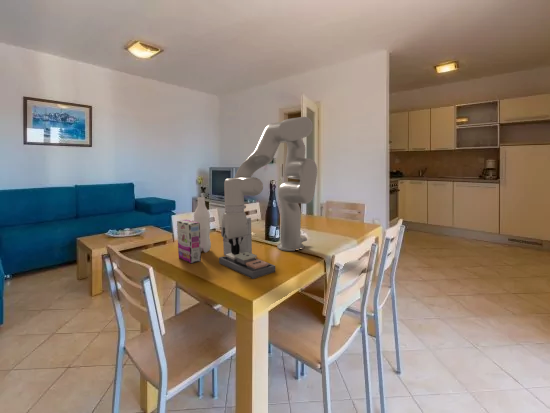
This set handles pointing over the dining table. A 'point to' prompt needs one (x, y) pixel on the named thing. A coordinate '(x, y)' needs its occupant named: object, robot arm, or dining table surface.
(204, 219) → the water bottle
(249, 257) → the tile
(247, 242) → the supplement box
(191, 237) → the candy bar box
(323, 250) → the dining table surface
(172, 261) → the dining table surface
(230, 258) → the tile
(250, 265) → the tile
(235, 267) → the gray rectangular tray
